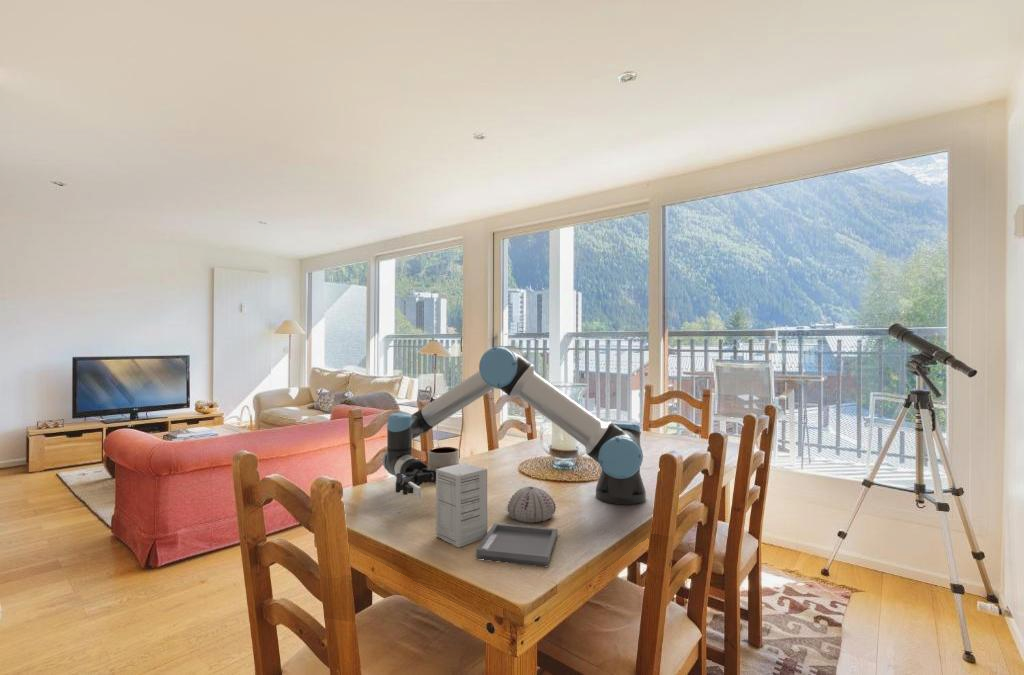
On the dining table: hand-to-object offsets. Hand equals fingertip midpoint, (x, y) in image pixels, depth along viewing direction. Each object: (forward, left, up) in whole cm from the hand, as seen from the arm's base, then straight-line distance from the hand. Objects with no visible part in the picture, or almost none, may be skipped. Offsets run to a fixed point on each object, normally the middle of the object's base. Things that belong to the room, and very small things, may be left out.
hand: (443, 489), depth 129 cm
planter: (+16, -42, -10) cm, 46 cm away
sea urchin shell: (-21, -11, -10) cm, 26 cm away
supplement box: (-7, +7, -9) cm, 14 cm away
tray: (-22, +10, -9) cm, 26 cm away
